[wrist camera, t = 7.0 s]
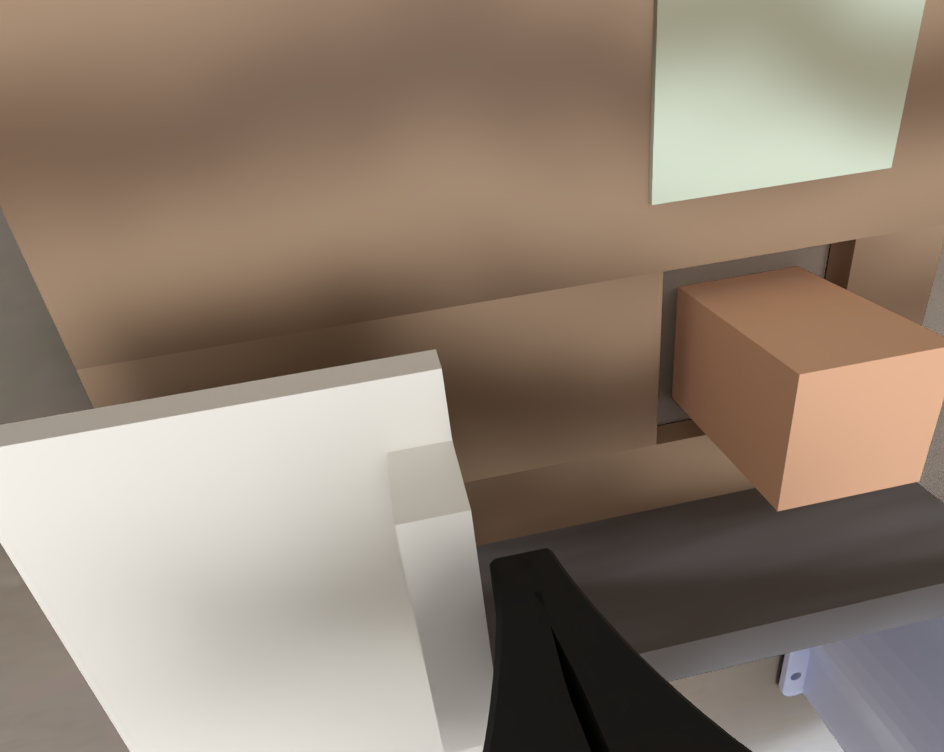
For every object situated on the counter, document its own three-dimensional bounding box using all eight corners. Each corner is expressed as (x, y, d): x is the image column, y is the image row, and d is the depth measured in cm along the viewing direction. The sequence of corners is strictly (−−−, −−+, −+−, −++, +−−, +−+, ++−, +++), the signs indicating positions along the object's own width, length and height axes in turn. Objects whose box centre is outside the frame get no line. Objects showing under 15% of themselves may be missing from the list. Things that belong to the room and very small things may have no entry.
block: (781, 376, 22) (919, 481, 16) (671, 397, 21) (777, 511, 16) (798, 266, 20) (959, 344, 15) (677, 286, 19) (799, 374, 14)
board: (856, 491, 25) (1001, 617, 19) (212, 629, 22) (168, 819, 17) (1020, -203, 15) (1414, -351, 9) (-113, -101, 12) (-484, -222, 7)
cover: (496, 750, 17) (520, 864, 15) (201, 822, 17) (176, 955, 14) (436, 349, 12) (460, 430, 9) (-28, 429, 11) (-138, 542, 8)
